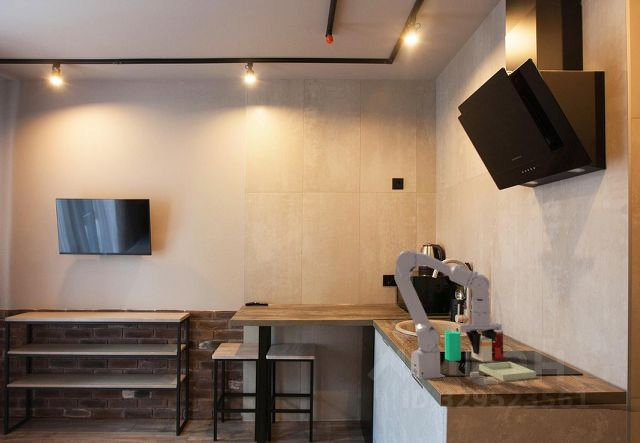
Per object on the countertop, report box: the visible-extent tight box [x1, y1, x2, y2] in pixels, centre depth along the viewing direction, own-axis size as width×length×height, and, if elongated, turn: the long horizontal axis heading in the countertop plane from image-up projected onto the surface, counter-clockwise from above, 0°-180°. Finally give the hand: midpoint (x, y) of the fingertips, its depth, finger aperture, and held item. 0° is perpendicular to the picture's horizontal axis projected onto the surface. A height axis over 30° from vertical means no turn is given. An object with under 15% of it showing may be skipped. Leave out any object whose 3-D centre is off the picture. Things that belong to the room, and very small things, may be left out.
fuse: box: [471, 335, 493, 362], centre depth 148 cm, size 4×6×7 cm, turn 15°
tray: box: [478, 361, 537, 382], centre depth 155 cm, size 13×13×2 cm
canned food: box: [492, 330, 504, 361], centre depth 178 cm, size 8×8×11 cm
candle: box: [444, 328, 462, 362], centre depth 176 cm, size 6×6×12 cm
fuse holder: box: [464, 371, 500, 387], centre depth 147 cm, size 7×9×2 cm
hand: (481, 353), depth 148 cm, fingers closed on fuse, 3 cm apart
